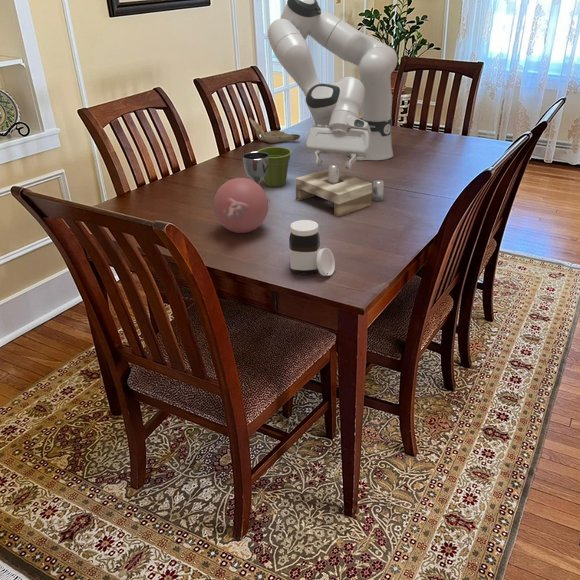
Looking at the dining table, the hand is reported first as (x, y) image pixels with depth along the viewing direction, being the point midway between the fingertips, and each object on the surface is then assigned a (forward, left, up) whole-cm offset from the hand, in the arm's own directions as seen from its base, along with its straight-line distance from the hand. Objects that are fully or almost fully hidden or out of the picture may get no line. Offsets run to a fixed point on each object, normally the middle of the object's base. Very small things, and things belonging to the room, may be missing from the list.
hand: (332, 166), depth 182 cm
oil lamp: (-67, +30, -12) cm, 74 cm away
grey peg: (0, +1, -12) cm, 12 cm away
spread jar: (+30, -34, -12) cm, 47 cm away
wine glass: (-17, -16, -12) cm, 27 cm away
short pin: (+8, +13, -12) cm, 19 cm away
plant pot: (-26, -2, -12) cm, 29 cm away
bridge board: (0, +1, -12) cm, 12 cm away
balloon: (0, -35, -12) cm, 37 cm away
